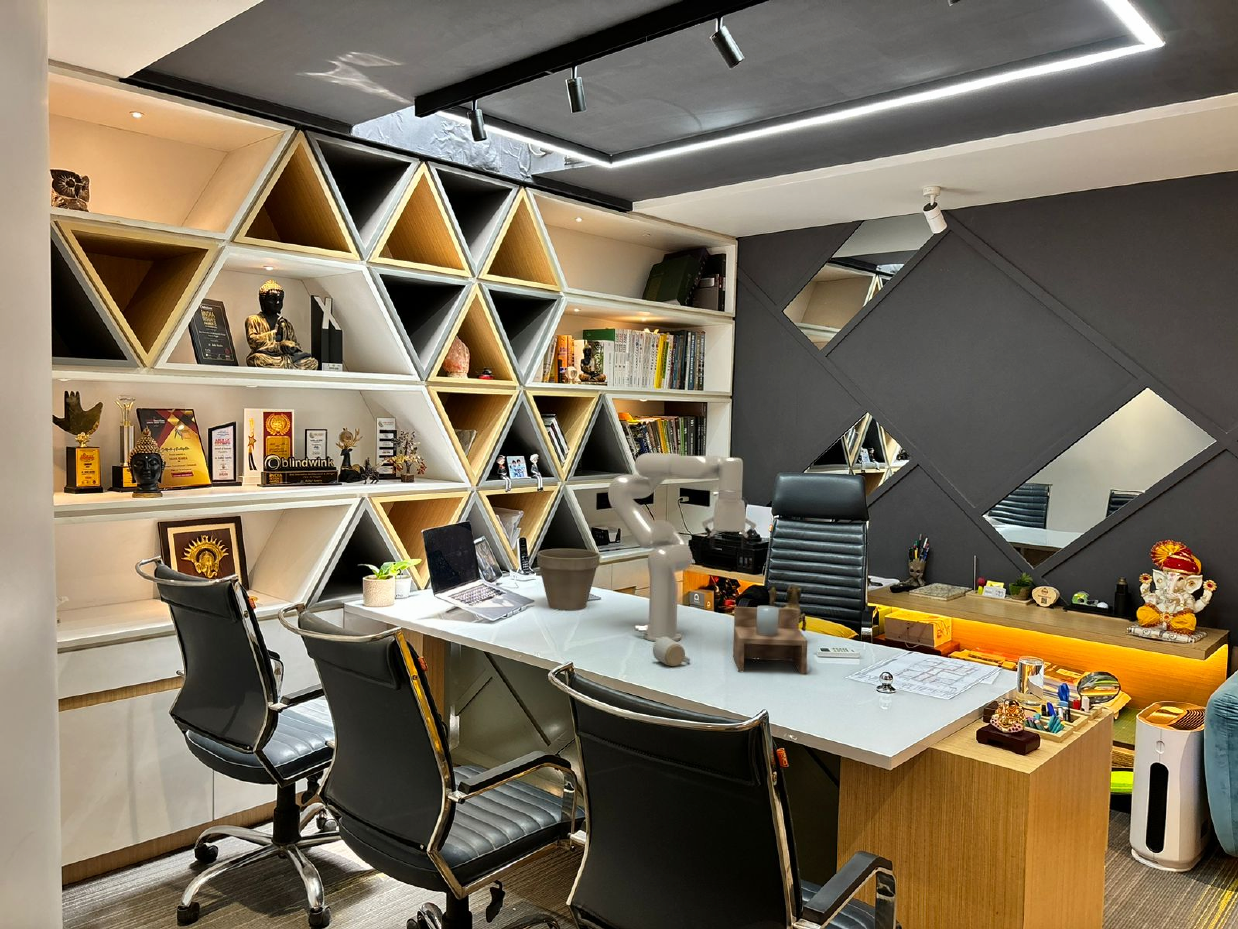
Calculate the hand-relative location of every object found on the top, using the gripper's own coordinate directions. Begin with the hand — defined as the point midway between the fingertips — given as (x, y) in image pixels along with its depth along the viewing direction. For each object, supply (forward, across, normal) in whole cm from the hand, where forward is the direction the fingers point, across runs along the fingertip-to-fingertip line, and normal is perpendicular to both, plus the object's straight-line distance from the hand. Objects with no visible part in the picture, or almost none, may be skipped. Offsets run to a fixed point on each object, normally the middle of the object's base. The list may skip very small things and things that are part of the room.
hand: (728, 548), depth 292 cm
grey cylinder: (+23, +11, -18) cm, 31 cm away
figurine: (+33, +19, +12) cm, 41 cm away
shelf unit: (+33, +12, -17) cm, 39 cm away
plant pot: (+34, -57, +63) cm, 91 cm away
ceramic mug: (+34, -17, -18) cm, 42 cm away
